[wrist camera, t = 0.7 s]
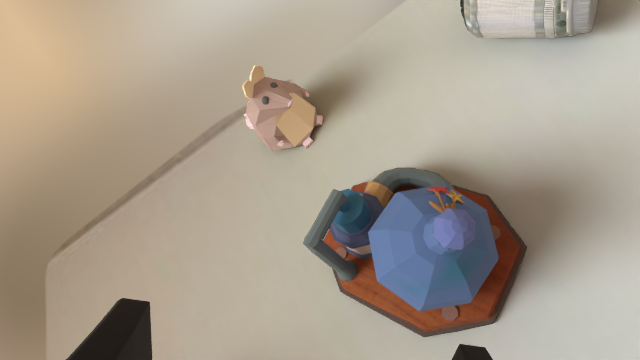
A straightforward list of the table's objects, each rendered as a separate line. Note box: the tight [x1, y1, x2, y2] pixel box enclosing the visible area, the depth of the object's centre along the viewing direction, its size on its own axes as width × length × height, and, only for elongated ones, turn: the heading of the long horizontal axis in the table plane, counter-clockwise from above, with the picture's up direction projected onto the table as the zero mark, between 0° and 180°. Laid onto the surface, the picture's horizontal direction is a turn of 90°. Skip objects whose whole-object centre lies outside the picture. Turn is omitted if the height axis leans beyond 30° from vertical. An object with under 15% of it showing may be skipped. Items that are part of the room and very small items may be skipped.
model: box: [303, 168, 527, 337], centre depth 27 cm, size 12×9×9 cm
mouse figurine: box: [242, 66, 323, 151], centre depth 38 cm, size 5×8×7 cm, turn 62°
